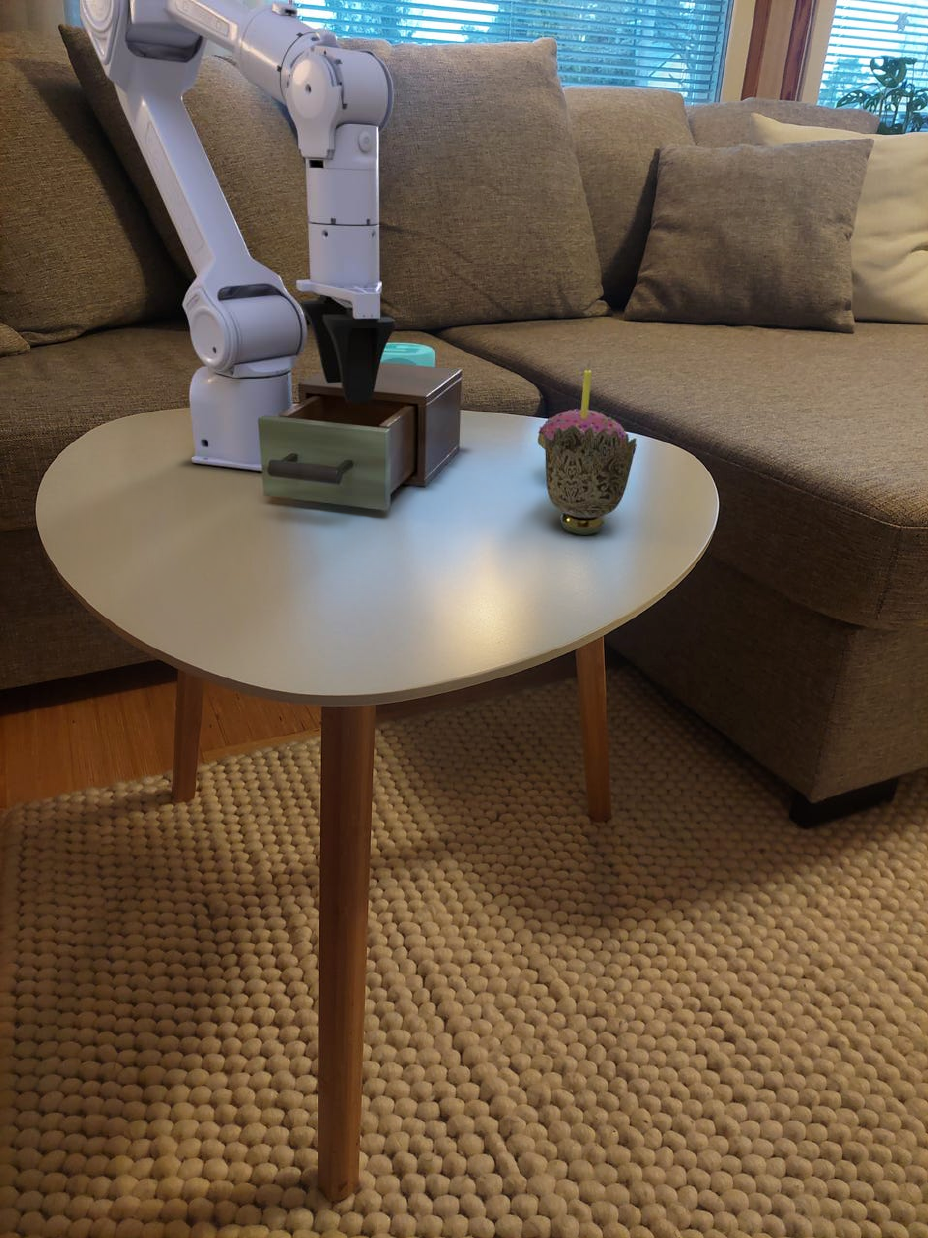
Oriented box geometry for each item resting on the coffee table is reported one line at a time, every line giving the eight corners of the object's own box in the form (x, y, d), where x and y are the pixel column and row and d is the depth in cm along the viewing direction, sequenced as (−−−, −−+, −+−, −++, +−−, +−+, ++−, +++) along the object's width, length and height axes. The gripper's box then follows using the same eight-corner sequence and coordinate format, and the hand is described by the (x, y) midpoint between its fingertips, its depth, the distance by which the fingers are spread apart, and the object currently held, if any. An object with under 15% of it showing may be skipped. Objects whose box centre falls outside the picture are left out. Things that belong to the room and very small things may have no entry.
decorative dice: (363, 424, 101) (362, 354, 98) (369, 407, 108) (368, 341, 105) (432, 427, 102) (433, 356, 98) (434, 409, 109) (435, 343, 105)
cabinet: (425, 487, 83) (426, 396, 79) (302, 472, 85) (297, 383, 82) (459, 450, 94) (462, 369, 90) (349, 438, 96) (347, 358, 92)
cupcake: (619, 502, 81) (636, 370, 75) (529, 493, 82) (538, 363, 77) (623, 474, 88) (638, 352, 83) (540, 466, 90) (549, 346, 84)
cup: (602, 553, 70) (614, 456, 66) (522, 532, 73) (529, 439, 70) (638, 526, 76) (650, 435, 72) (561, 507, 79) (570, 420, 75)
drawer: (368, 527, 71) (367, 446, 68) (240, 510, 73) (233, 430, 70) (425, 471, 84) (426, 400, 81) (315, 458, 87) (312, 389, 84)
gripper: (278, 216, 76) (287, 375, 82) (313, 229, 64) (320, 414, 70) (357, 217, 78) (360, 372, 84) (406, 230, 66) (405, 410, 72)
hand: (347, 391), depth 77 cm, fingers open, 7 cm apart
